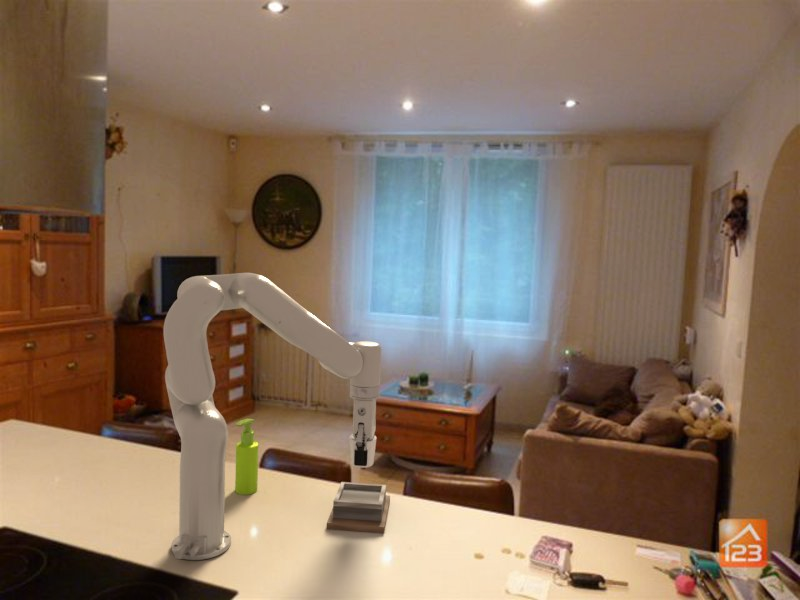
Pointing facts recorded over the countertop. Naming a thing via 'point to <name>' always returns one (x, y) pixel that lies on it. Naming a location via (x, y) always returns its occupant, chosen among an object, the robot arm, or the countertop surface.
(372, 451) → the white cup
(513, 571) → the countertop surface
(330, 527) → the stand
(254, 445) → the soap dispenser
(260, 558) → the countertop surface
